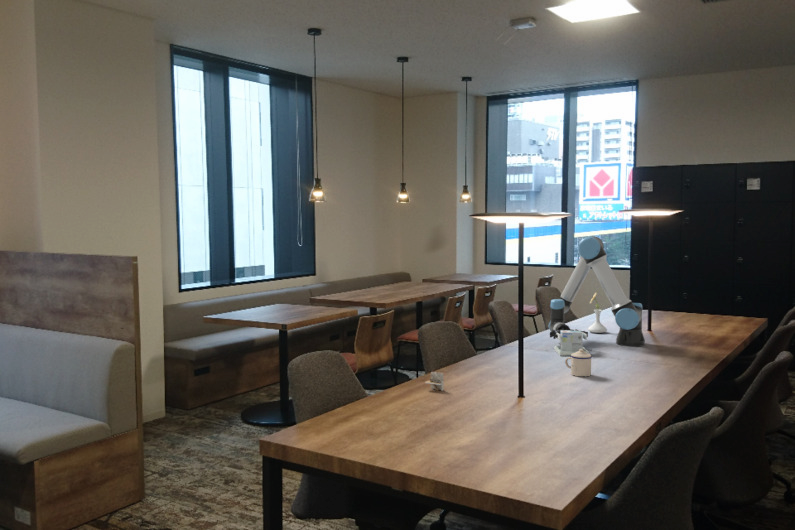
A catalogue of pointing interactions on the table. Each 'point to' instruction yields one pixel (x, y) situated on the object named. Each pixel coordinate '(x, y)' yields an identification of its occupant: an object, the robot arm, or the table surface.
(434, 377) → the architectural model
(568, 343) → the light bulb box
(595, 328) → the flower in vase
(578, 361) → the teacup with lid
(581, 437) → the table surface
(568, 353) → the tray
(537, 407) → the table surface
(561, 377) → the table surface
